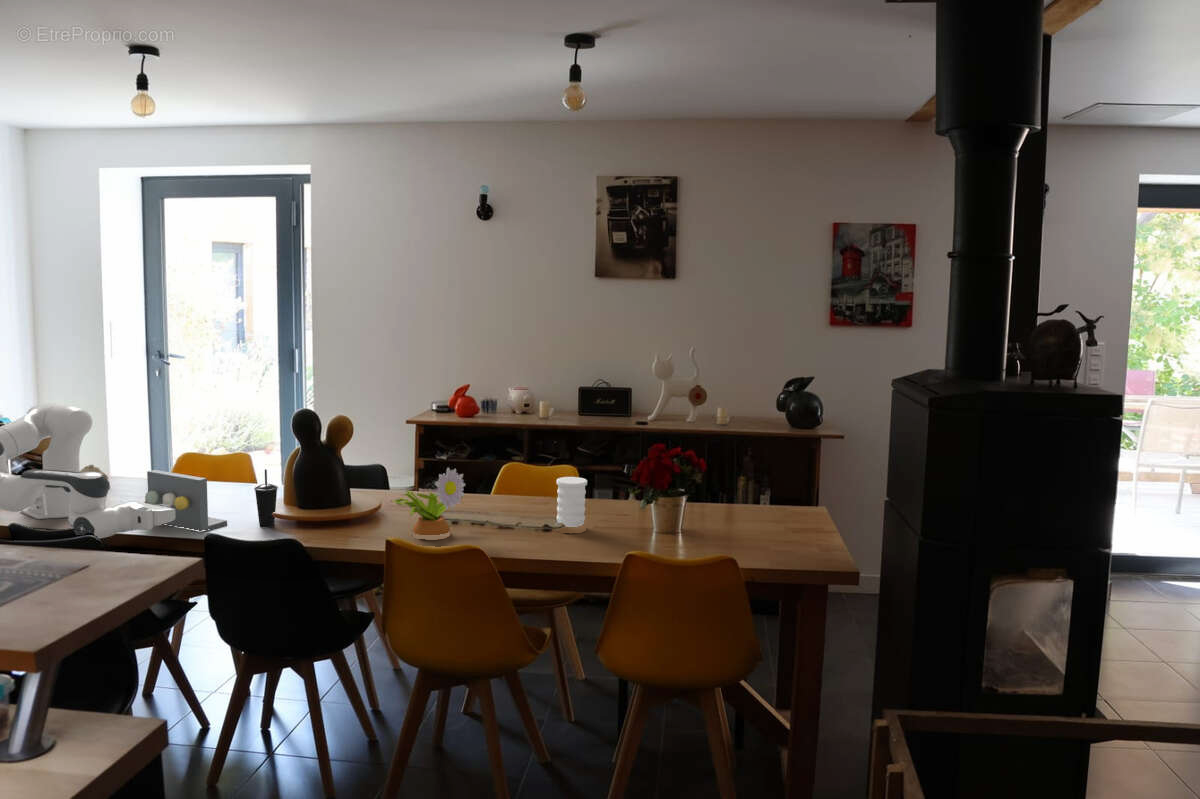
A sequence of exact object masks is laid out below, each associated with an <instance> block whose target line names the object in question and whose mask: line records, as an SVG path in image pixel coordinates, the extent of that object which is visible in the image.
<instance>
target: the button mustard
mask: <svg viewBox="0 0 1200 799" xmlns="http://www.w3.org/2000/svg"><path fill="white" fill-rule="evenodd" d="M174 504H175V507H176V508H177V509H178V510H183V509H187V508H188V506H189V501H188V499H187V498H186V497H185V496H181V497H177V498H176V499H175V501H174Z"/></svg>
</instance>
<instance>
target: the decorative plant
mask: <svg viewBox="0 0 1200 799" xmlns="http://www.w3.org/2000/svg"><path fill="white" fill-rule="evenodd" d="M445 471H446V472H444V473H442V474H441V473H439V474H438V477H439V478H438V481H435V482H434V484H435V486H436V487H437V491H436V492H435V493H432V492H431V491H430V492H429V495H428V494H423V493H417V494H416V495H415V494H414V493H413V491H412V490H411V491H410V490H406V493H403V494H402V495H404V496H406V497H408V498H409V499H410V500H411V501H409V500H408V499H404V498H398V499H395V500H390V502H391V503H395V504H397V505H398V506H404V505H407V506H408V507H409V508H411V511H410V514H409V517H410V516H412V515H413V514H415V513H417V514H418V515H419V516H418V518H417V519H418V520H417V522H416V523H415V525H414V526H413V529H412V533H413V532H414V533H415V534H419V535H440V534H445V533H448V532H449V531H450V532H451V530H450V525H449V524H448V523H447V521H446V519H445V517H444V516H443V515H442V514H443V513H444V512H445V511H446V510H447V509H448V508H450V507H451V509H453V510H454V509H455V506H456V505H457V504H459V505H461V500H462V499H463V497H464V496H465V493H464V492H463V491H464V487H466V483H465V482H464V479H463V477H464V473H460V474H459V473H458V472H457V469H456V468H454V469H450V467H447V468H446V470H445ZM418 497H420V498H423V499H427V500H428V502H427V505H426V504H425V503H424V502H423V500H422V499H420V498H418ZM438 497H439V503H438V499H437V498H438Z"/></svg>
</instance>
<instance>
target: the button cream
mask: <svg viewBox="0 0 1200 799" xmlns="http://www.w3.org/2000/svg"><path fill="white" fill-rule="evenodd" d="M175 499H176V495H175V494H174V493H168V494H165V495H164V496H163V503H164V504H167V505H170V506H173V505H175V504H174V501H175Z"/></svg>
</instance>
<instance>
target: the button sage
mask: <svg viewBox="0 0 1200 799" xmlns="http://www.w3.org/2000/svg"><path fill="white" fill-rule="evenodd" d="M144 497H145V501H146V502H145V503H147V504H156V503H158V502H159V494H158V493H157V492H156V491H151V492H148V491H147V492H146V493H145V496H144Z"/></svg>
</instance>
